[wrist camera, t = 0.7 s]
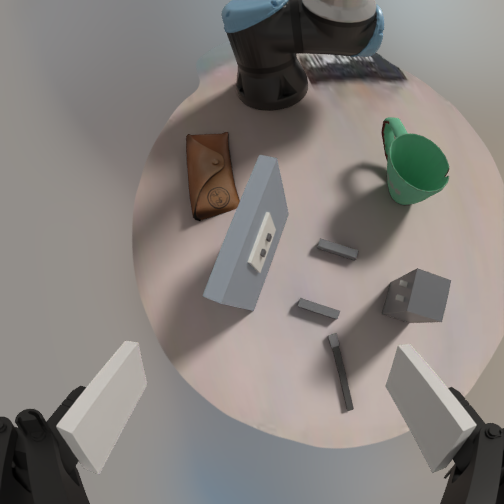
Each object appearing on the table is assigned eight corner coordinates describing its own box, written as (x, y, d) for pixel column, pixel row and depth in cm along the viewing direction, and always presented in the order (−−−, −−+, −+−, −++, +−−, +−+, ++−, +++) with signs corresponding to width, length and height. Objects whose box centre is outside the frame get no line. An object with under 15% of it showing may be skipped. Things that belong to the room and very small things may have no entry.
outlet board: (276, 210, 44) (259, 154, 29) (361, 236, 40) (387, 188, 25) (241, 306, 41) (202, 296, 26) (329, 337, 37) (344, 347, 22)
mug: (435, 211, 38) (460, 185, 29) (388, 225, 39) (408, 199, 30) (400, 141, 42) (414, 107, 33) (355, 150, 44) (363, 114, 34)
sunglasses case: (244, 208, 45) (213, 199, 40) (216, 225, 49) (186, 219, 44) (228, 129, 50) (202, 116, 45) (205, 148, 54) (179, 138, 49)
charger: (384, 280, 38) (409, 265, 27) (418, 291, 36) (451, 280, 26) (375, 312, 37) (399, 308, 26) (410, 323, 35) (442, 322, 25)
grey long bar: (328, 335, 37) (328, 335, 37) (335, 333, 37) (336, 333, 36) (346, 409, 34) (346, 411, 33) (353, 407, 34) (354, 409, 33)
